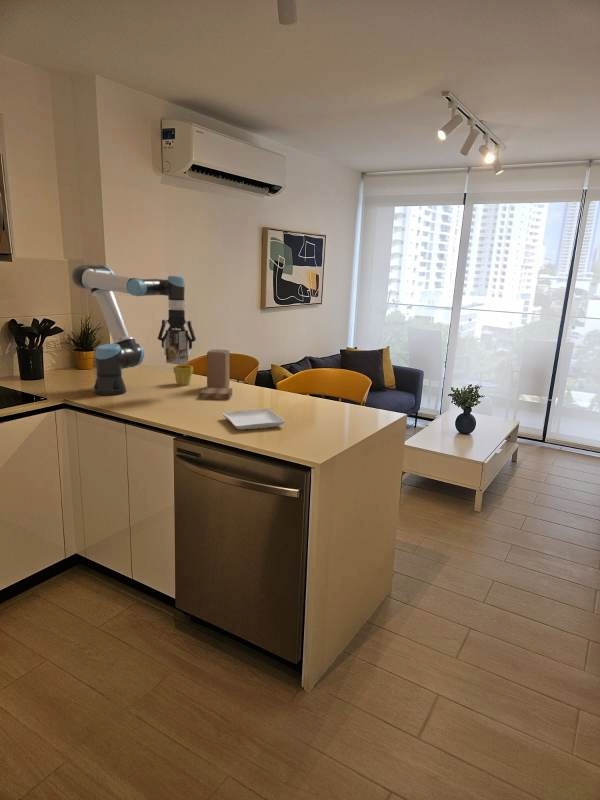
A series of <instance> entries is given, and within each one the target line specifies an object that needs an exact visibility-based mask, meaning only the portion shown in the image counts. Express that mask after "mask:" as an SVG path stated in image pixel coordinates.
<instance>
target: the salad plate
mask: <svg viewBox="0 0 600 800" xmlns="http://www.w3.org/2000/svg"><path fill="white" fill-rule="evenodd" d="M221 414H222V416H223V417H224V418H225V419H226V420H228V421H229V422H230V423H231V425H233V426H234V428H235V429H237V430H240V431H242V430H243V431H244V430H245V431H246V429H248V430H259V429H258V428H260V429H268V428H269V427H270V428H274V427H275V428H277V427H280V426H282V425H284V424H285V423H286V420H285V419H283V418H282V417H281V416H279V415H278V414H276V413H275V412H274V411H272V410H271V409H270V408H259V409H258V408H257V409H246V410H245V409H244V410H234V411H226V412H225V411H224V412H221Z"/></svg>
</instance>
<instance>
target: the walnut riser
mask: <svg viewBox="0 0 600 800" xmlns="http://www.w3.org/2000/svg"><path fill="white" fill-rule="evenodd" d="M231 395H232V396H233V388H229V387H228V388H207V387H204V388H203V389H202V390H201V391H199V399H200V398H203V399H202V400H219V399H229V400H230V399H231V397H232V396H231Z"/></svg>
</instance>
